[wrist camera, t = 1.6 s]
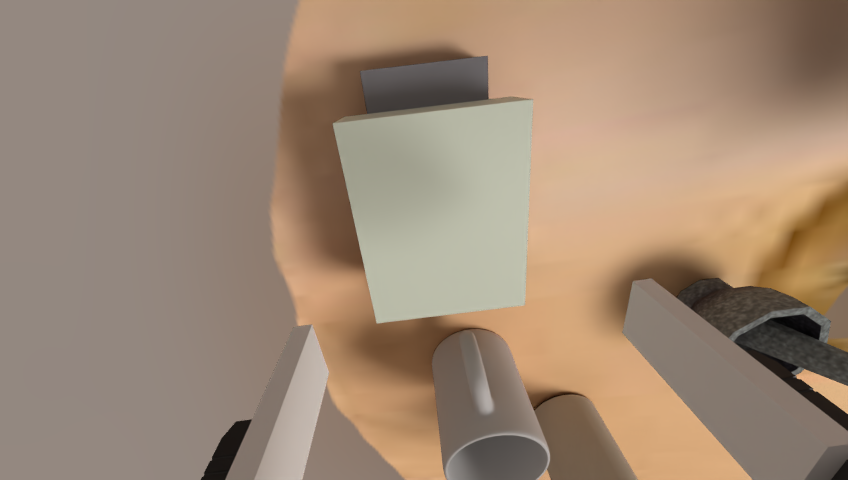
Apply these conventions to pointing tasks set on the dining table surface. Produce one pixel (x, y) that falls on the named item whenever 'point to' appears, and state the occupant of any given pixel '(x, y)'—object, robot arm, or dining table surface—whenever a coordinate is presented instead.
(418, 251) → the lid
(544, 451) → the mug
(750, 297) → the mortar and pestle
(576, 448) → the travel mug
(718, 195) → the dining table surface
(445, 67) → the mat
